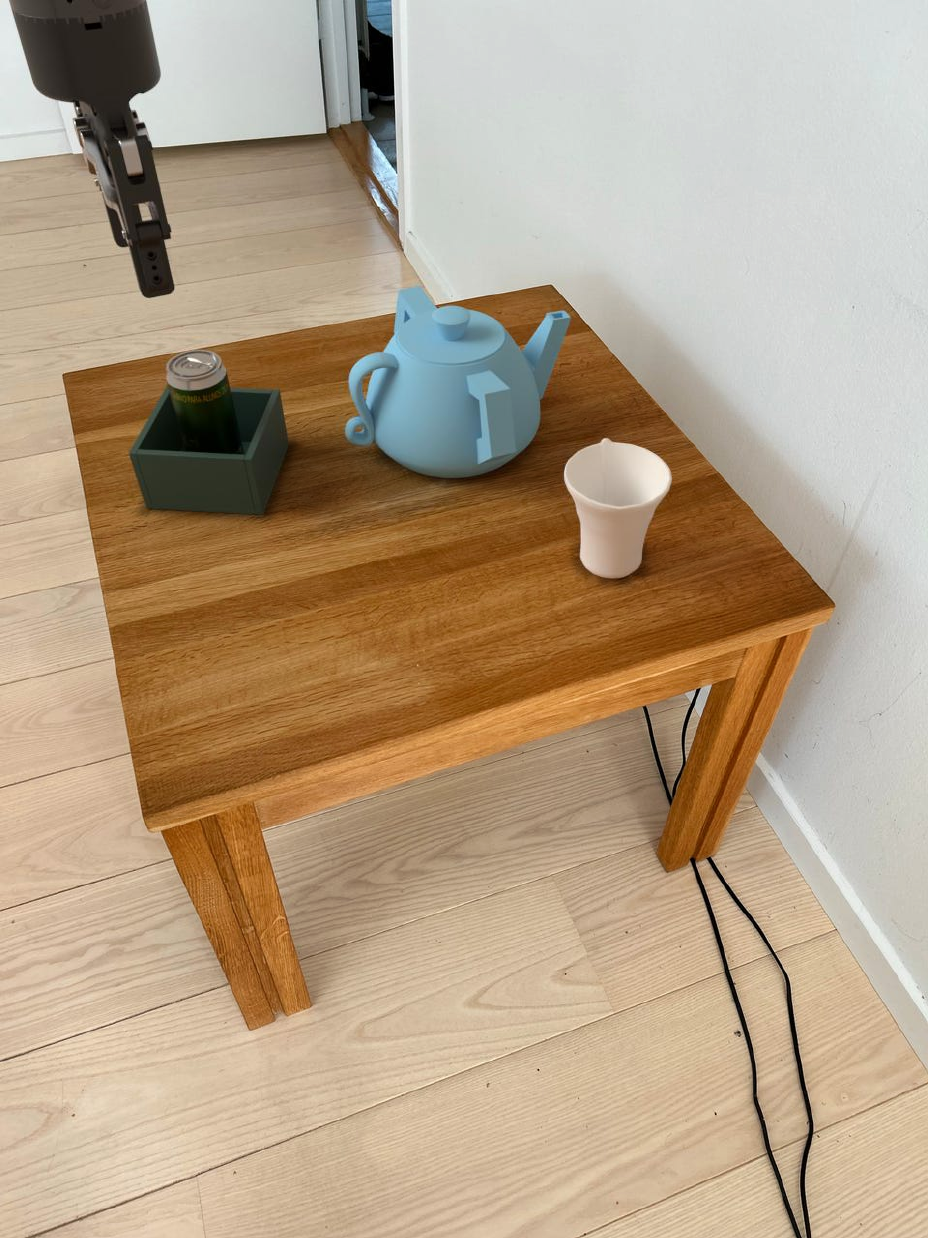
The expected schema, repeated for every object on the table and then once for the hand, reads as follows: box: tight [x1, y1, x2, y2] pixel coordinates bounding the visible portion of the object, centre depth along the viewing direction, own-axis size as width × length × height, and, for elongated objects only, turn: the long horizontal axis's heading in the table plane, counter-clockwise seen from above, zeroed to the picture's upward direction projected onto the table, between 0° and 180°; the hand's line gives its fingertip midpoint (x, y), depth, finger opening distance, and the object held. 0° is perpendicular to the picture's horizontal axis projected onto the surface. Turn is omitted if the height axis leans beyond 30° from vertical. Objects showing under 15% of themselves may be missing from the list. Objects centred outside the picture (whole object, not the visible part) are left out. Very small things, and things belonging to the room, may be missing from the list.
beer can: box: [165, 349, 244, 455], centre depth 87 cm, size 5×5×12 cm
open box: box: [128, 384, 290, 516], centre depth 90 cm, size 11×11×6 cm
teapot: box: [344, 284, 572, 479], centre depth 92 cm, size 19×19×14 cm
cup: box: [563, 437, 673, 580], centre depth 80 cm, size 9×9×10 cm
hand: (144, 267), depth 65 cm, fingers open, 8 cm apart
